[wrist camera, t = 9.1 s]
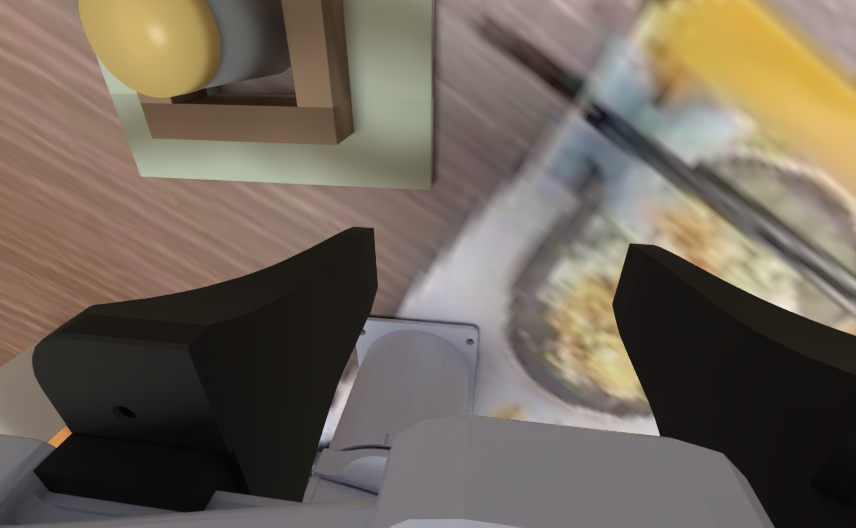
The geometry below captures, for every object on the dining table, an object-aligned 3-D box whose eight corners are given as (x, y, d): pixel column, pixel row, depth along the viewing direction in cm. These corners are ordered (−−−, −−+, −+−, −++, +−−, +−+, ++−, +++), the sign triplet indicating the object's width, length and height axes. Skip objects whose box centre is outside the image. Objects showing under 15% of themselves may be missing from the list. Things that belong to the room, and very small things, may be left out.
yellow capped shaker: (302, 81, 19) (208, 105, 13) (229, 70, 19) (100, 89, 13) (298, -12, 17) (186, -38, 11) (217, -23, 18) (60, -54, 11)
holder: (432, 183, 21) (423, 209, 18) (153, 170, 23) (102, 191, 20) (436, -206, 14) (421, -272, 11) (31, -180, 16) (-77, -230, 13)
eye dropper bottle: (67, 364, 33) (-126, 515, 22) (61, 315, 30) (-163, 463, 20) (119, 383, 33) (-47, 541, 23) (118, 337, 30) (-73, 494, 20)
